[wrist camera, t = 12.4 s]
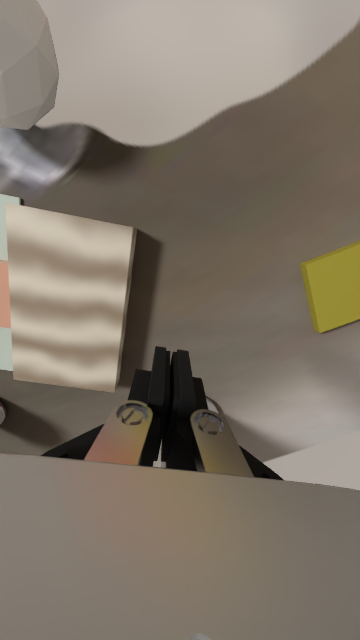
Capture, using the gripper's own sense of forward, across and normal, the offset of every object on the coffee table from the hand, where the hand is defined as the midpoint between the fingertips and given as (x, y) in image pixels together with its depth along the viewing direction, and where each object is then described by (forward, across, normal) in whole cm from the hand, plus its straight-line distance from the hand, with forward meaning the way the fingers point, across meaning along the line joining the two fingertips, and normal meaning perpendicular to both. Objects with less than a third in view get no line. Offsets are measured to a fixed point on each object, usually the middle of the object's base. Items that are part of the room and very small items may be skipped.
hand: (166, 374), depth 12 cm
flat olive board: (+28, -33, -8) cm, 44 cm away
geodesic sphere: (+27, +22, -21) cm, 41 cm away
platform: (+27, +14, +6) cm, 31 cm away
